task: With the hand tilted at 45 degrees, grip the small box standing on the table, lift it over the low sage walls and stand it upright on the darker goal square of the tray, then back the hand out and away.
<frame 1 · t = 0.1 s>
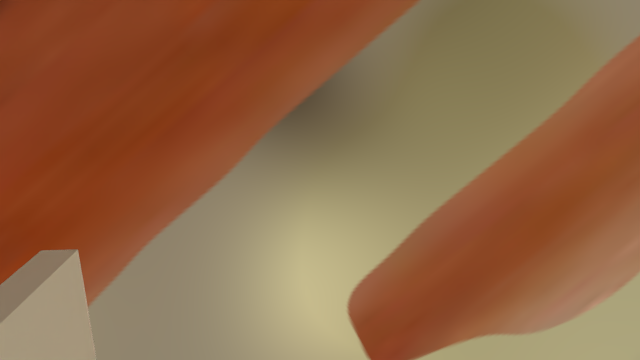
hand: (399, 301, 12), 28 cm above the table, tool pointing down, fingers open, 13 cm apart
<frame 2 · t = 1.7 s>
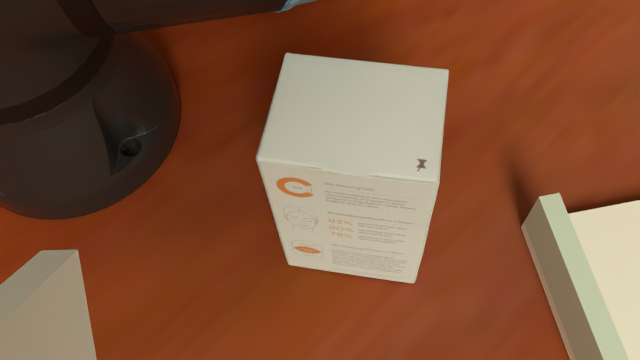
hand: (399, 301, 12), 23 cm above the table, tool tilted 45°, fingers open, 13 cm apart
small box: (357, 230, 39), on the table
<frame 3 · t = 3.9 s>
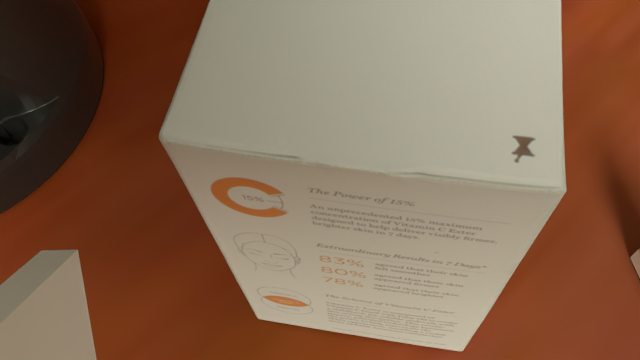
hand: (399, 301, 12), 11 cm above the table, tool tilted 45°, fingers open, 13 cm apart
small box: (368, 260, 25), on the table
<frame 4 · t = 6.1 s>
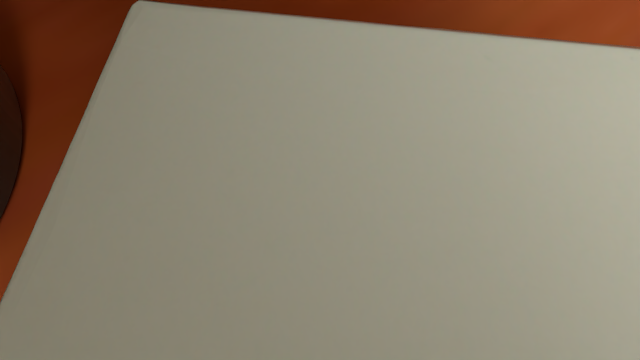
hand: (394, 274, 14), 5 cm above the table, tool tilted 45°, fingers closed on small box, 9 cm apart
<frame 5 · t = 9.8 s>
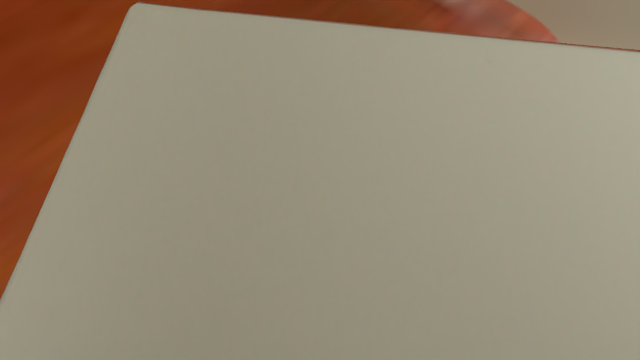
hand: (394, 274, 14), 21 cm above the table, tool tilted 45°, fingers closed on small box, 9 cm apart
when the fingers open (8 cm above the table, at t = 13.5 s): small box drops 2 cm, resting on tray.
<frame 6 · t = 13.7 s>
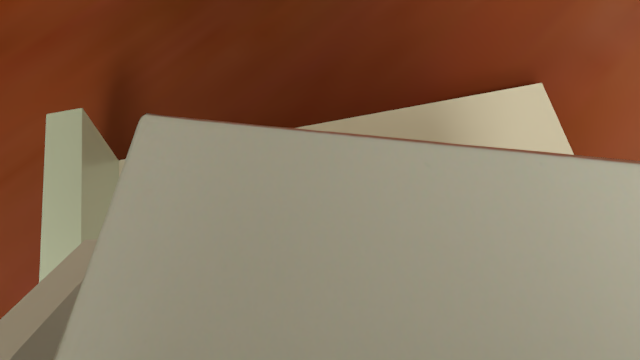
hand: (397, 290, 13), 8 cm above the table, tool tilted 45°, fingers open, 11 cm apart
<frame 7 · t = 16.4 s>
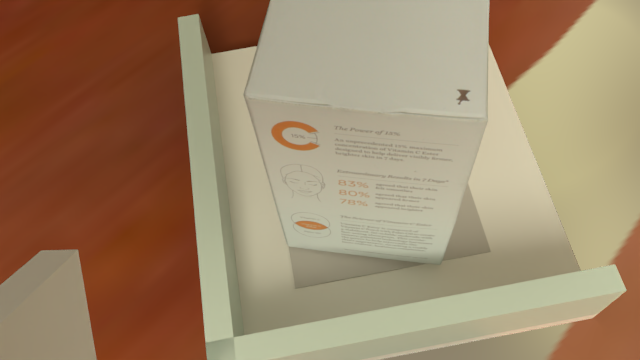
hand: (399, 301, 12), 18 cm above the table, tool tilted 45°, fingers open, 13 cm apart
small box: (369, 203, 32), point 1 cm above the table, touching tray
tray: (368, 175, 34), on the table
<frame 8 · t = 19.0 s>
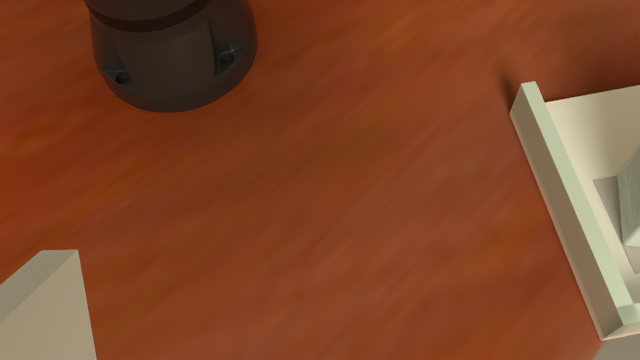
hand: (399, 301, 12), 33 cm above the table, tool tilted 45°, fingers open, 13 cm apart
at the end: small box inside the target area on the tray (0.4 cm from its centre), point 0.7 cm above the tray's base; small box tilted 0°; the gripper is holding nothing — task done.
